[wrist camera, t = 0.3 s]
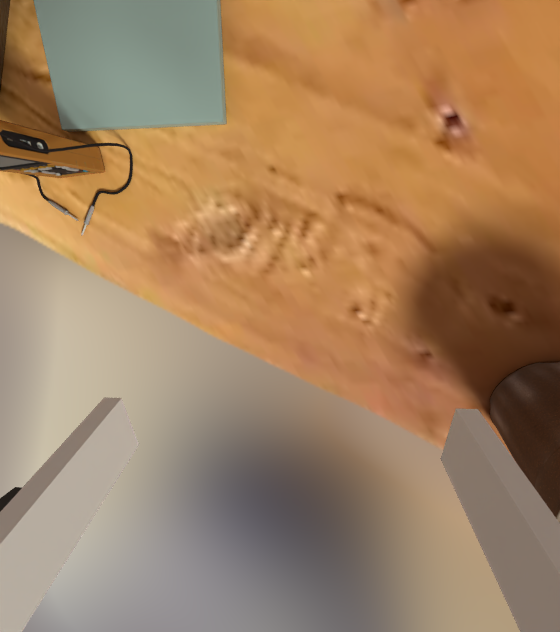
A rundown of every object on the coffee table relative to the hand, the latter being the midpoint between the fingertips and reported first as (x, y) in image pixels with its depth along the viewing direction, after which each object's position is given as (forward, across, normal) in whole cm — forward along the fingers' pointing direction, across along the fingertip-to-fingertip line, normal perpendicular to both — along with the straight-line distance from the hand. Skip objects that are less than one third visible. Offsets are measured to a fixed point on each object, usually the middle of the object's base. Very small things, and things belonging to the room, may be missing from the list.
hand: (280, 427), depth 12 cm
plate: (+30, -18, +23) cm, 42 cm away
